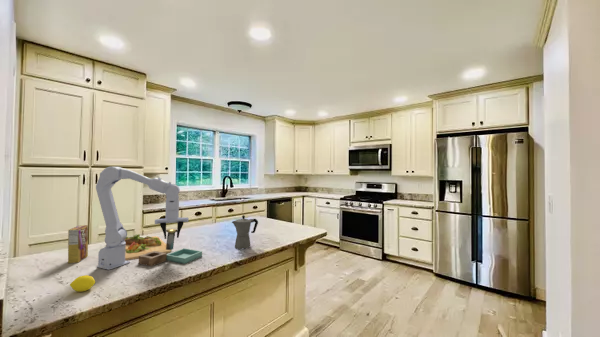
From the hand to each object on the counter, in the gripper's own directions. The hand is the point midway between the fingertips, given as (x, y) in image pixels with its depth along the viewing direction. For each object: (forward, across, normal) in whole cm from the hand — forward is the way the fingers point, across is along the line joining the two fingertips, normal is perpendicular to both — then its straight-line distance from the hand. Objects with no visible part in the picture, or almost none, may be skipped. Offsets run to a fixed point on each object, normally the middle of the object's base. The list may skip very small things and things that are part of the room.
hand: (171, 237), depth 124 cm
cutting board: (+11, -14, +26) cm, 32 cm away
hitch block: (+10, -8, 0) cm, 13 cm away
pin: (+5, -1, 0) cm, 5 cm away
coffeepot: (+11, +38, +8) cm, 40 cm away
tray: (+11, +6, 0) cm, 12 cm away
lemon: (+11, -29, -22) cm, 37 cm away
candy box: (+10, -39, +16) cm, 43 cm away
